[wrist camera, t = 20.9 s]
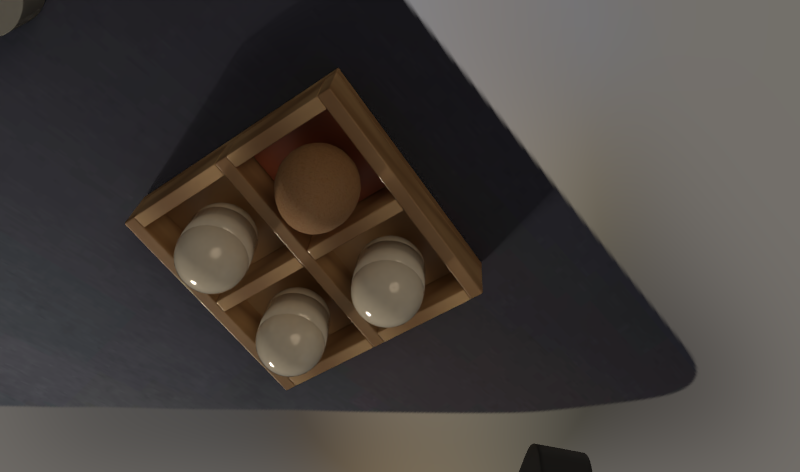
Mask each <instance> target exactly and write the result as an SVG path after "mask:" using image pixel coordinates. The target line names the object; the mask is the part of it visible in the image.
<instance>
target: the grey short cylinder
mask: <svg viewBox="0 0 800 472" xmlns="http://www.w3.org/2000/svg"><path fill="white" fill-rule="evenodd" d="M44 2H45V0H0V36H3V35H5V34H7V33H9V32H11V31H12V30H14V29H16V28H18V27H20V26H21V25H23V24H25V23H27V22H29V21H30V20H32V19H33V18H34V17H36V16H37V15H38V13H39V12H40V11H41V9H42V7H43V5H44Z"/></svg>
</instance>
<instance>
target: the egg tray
mask: <svg viewBox="0 0 800 472" xmlns="http://www.w3.org/2000/svg"><path fill="white" fill-rule="evenodd" d="M310 143H327V144H331V145H333V146H336V147H338V148H340V149H341V150H343V151H344V152H345V153H346V154H347V155H348V156H349V157H350V158H351V159H352V161H353V162H354V163H355V165H356V167H357V169H358V172H359V175H360V184H361V191H360V197H359V200H358V202H357V205H356V207H355V209H354V211H353V212H352V214H351V215H350V216H349V218H348V219H347V220H346V221H345V222H344V223H343V224H341V225H340V226H338V227H337V228H335V229H333V230H332V231H329V232H326V233H322V234H305V233H302V232H299V231H297V230H295V229H294V228H292V227H291V226H290V225H289V224H288V223H287V222H286V221H285V220H284V219H283V217H282V216H281V214H280V212H279V210H278V207H277V205H276V202H275V196H274V181H275V177H276V174H277V171H278V168H279V166H280V164H281V163H282V161H283V160H284V159H285V158H286V157H287V156H288V155H289V154H290V153H291V152H292V151H293V150H295V149H296V148H298V147H300V146H302V145H305V144H310ZM218 202H226V203H232V204H235V205H237V206H240V207H241V208H243V209H244V210H246V211H247V212H248V213H249V214H250V216H251V217H252V218H253V220H254V222H255V224H256V226H257V230H258V245H257V249H256V252H255V254H254V257H253V259H252V261H251V263H250V266H249V268H248V270H247V272H246V274H245V276H244V277H243V279H242V280H241V281H240V282H239V283H238V284H237V285H236V286H235V287H233V288H232V289H230V290H228V291H226V292H223V293H219V294H204V293H201V292H197V291H195V290H193V289H191V288H190V287H188V286H187V285H186V284H185V283H184V282H183V281H182V280H181V279H180V277H179V276H178V274H177V272H176V269H175V266H174V249H175V246H176V243H177V241H178V239H179V237H180V236H181V234H182V232H183V231H184V229H185V227H186V226H187V224H188V223H189V221H190V219H191V218H192V217H193V216H194V214H195V213H196V212H197V211H199V210H200V209H201V208H203V207H205V206H207V205H209V204H212V203H218ZM125 225H126V226H127V227H128V228H129V229H130V230H131V231H132V232H133V233H134V234H135V235H136V236H137V237H138V238H139V239H140V240H141V241H142V242H143V243H144V244H145V245H146V246H147V247H148V248H149V249H150V250H151V251H152V252H153V254H154V255H155V256H156V257H157V258H158V259H159V260H160V261H161V262H162V263H163V264H164V265H165V266H166V267H167V268H168V269H169V270H170V271H171V272H172V273H173V274H174V275H175V276H176V277H177V278H178V279H179V280H180V281H181V282H182V283H183V284H184V285H185V286H186V287H187V289H188V290H189V291H190V292H191V293H192V294H193V295H194V296H195V297H196V298H197V299H198V300H199V301H200V302H201V303H202V304H203V305H204V306H205V307H206V308H207V309H208V310H209V311H210V312H211V313H212V314H213V315H214V316H215V317H216V318H217V319H218V320H219V321H220V323H221V324H222V325H223V326H224V327H225V328H226V329H227V330H228V331H229V332H230V333H231V334H232V335H233V336H234V337H235V338H236V339H237V340H238V341H239V342H240V343H241V344H242V345H243V346H244V347H245V348H246V349H247V350H248V351H249V352H250V353H251V354H252V355H253V357H254V358H255V359H256V360H257V361H258V362H259V363H260V364H261V365H262V366H263V367H264V368H265V369H266V370H267V371H268V372H269V373H270V374H271V375H272V376H273V377H274V378H275V379H276V380H277V381H278V382H279V383H280V384H281V385H282V386H283V387H284V388H285V389H286V390H288V389H290V388H292V387H294V386H296V385H298V384H300V383H302V382H304V381H306V380H308V379H310V378H312V377H314V376H316V375H318V374H320V373H322V372H324V371H326V370H328V369H330V368H333V367H335V366H337V365H339V364H341V363H343V362H345V361H347V360H349V359H351V358H353V357H355V356H357V355H359V354H361V353H363V352H365V351H367V350H369V349H371V348H373V346H374V347H375V346H377V345H379V344H381V343H383V342H384V341H387V340H389V339H391V338H393V337H395V336H397V335H399V334H401V333H403V332H405V331H407V330H409V329H412V328H414V327H416V326H418V325H420V324H422V323H424V322H426V321H428V320H430V319H432V318H434V317H436V316H438V315H440V314H442V313H444V312H446V311H448V310H450V309H452V308H454V307H456V306H458V305H460V304H462V303H464V302H466V301H468V300H470V299H471V298H474V297H476V296H478V295H480V294H482V293H483V290H482V269H481V268H482V264H481V262H480V261H479V259H478V258H477V256H476V255H475V254H474V252H473V251H472V250H471V248H470V247H469V246H468V244H467V243H466V241H465V240H464V239H463V237H462V236H461V235H460V233H459V232H458V231H457V229H456V228H455V226H454V225H453V224H452V222H451V221H450V220H449V218H448V217H447V215H446V214H445V213H444V211H443V210H442V209H441V207H440V206H439V205H438V203H437V202H436V200H435V199H434V198H433V196H432V195H431V194H430V192H429V191H428V190H427V188H426V187H425V185H424V184H423V183H422V181H421V180H420V179H419V177H418V176H417V175H416V173H415V172H414V170H413V169H412V168H411V166H410V165H409V164H408V162H407V161H406V160H405V158H404V157H403V155H402V154H401V153H400V151H399V150H398V149H397V147H396V146H395V145H394V143H393V142H392V140H391V139H390V138H389V136H388V135H387V134H386V132H385V131H384V129H383V128H382V127H381V125H380V124H379V123H378V121H377V120H376V119H375V117H374V116H373V114H372V113H371V112H370V110H369V109H368V108H367V106H366V105H365V104H364V102H363V101H362V99H361V98H360V97H359V95H358V94H357V93H356V91H355V90H354V89H353V87H352V86H351V84H350V83H349V82H348V80H347V79H346V78H345V76H344V75H343V74H342V72H341V71H340V69H339V68H337V69H336V70H334V71H333V72H331V73H330V74H328V75H327V76H325V77H324V78H322V79H321V80H319V81H318V82H316V83H315V84H313V85H312V86H310V87H309V88H307V89H306V90H304V91H303V92H301V93H300V94H298V95H297V96H295V97H294V98H292V99H291V100H289V101H288V102H286V103H285V104H283V105H282V106H280V107H279V108H277V109H276V110H274V111H273V112H271V113H270V114H268V115H267V116H265V117H264V118H262V119H261V120H259V121H258V122H256V123H255V124H253V125H252V126H250V127H249V128H247V129H246V130H244V131H243V132H241V133H240V134H238V135H237V136H235V137H234V138H232V139H231V140H229V141H228V142H226V143H225V144H223V145H222V146H220V147H219V148H217V149H216V150H214V151H213V152H211V153H210V154H208V155H207V156H205V157H204V158H202V159H201V160H199V161H198V162H196V163H195V164H193V165H192V166H190V167H189V168H187V169H186V170H184V171H183V172H181V173H180V174H178V175H177V176H175V177H174V178H172V179H171V180H169V181H168V182H166V183H165V184H163V185H162V186H160V187H159V188H157V189H156V190H154V191H153V192H151V193H150V194H148V195H147V196H145V197H144V198H143V200H142V201H141V202H140V204H139V205H138V206H137V208H136V209H135V210H134V212H133V213H132V214H131V216H130V217H129V218H128V219H127V221H126V222H125ZM385 235H395V236H400V237H403V238H405V239H407V240H409V241H410V242H412V243H413V244H414V245H415V246H416V247H417V248H418V249H419V251H420V252H421V254H422V256H423V259H424V261H425V268H426V275H425V289H424V298H423V302H422V305H421V307H420V309H419V310H418V312H417V313H416V315H415V316H414V317H413V318H412V319H411V320H409V321H408V322H406V323H405V324H403V325H400V326H398V327H393V328H383V327H378V326H374V325H372V324H370V323H368V322H367V321H365V320H364V319H363V318H362V317H361V316H360V315H359V314H358V312H357V311H356V309H355V307H354V305H353V302H352V299H351V283H352V278H353V274H354V269H355V264H356V261H357V258H358V255H359V254H360V252H361V250H362V249H363V248H364V247H365V246H366V245H367V244H368V243H369V242H370V241H372V240H373V239H376V238H378V237H381V236H385ZM290 287H305V288H308V289H311V290H313V291H315V292H316V293H318V294H319V295H320V296H321V297H322V298H323V299H324V301H325V302H326V303H327V305H328V308H329V311H330V316H331V323H330V329H329V333H328V338H327V342H326V346H325V350H324V353H323V355H322V358H321V359H320V361H319V362H318V364H317V365H316V366H315V367H314V368H313V369H311V370H310V371H308V372H307V373H305V374H302V375H299V376H294V377H285V376H280V375H277V374H275V373H273V372H271V371H270V370H269V369H267V368H266V367H265V366H264V365H263V363H262V362H261V361H260V359H259V357H258V354H257V351H256V343H255V339H256V334H257V330H258V328H259V325H260V322H261V320H262V317H263V314H264V311H265V309H266V307H267V305H268V303H269V301H270V300H271V299H272V298H273V297H274V296H275V295H276V294H277V293H279V292H280V291H282V290H284V289H287V288H290Z"/></svg>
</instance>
